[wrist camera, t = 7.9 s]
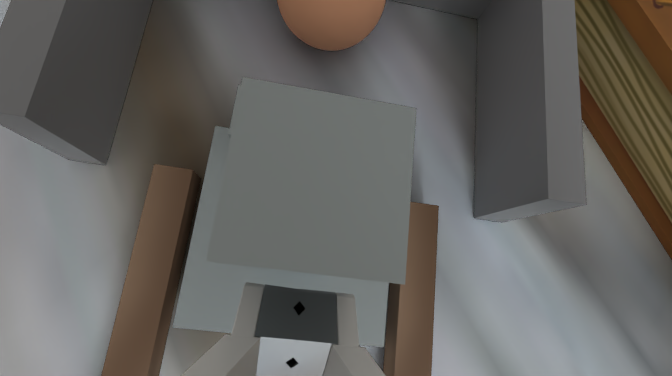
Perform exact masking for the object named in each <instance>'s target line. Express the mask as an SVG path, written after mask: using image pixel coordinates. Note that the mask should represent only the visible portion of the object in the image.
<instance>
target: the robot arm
mask: <svg viewBox="0 0 672 376" xmlns="http://www.w3.org/2000/svg"><path fill="white" fill-rule="evenodd" d="M181 376H386V375H385V374H384V373H383V371H382V370H381V369H380V367H379V366H378V365H377V363H376V362H375V360H374V359H373V358H372V356H371V355H370V354H369V352H368V351H367V350H366V348H364V347H360V346H359V335H358V325H357V314H356V303H355V297H354V295H353V294H346V293H335V292H328V291H318V290H308V289H295V288H288V287H281V286H273V285H266V284H265V285H264V284H257V283H249V282H246V283H245V285H244V288H243V292H242V295H241V299H240V303H239V307H238V310H237V314H236V318H235V322H234V326H233V329H232V333H231V335H226V334H225V335H224V336H223V337H222V338H221V339H220V340H219V341H218V342H217V343H215V344H214V345H213V346H212V347H211V348H210V349H209V350H208V351H207V352H206V353H205V354H204V355H202V356H201V357H200V358H199V359H198V360H197V361H196V362H195V363H194V364H193V365H192V366H191V367H189V368H188V369H187V370H186V371H185V372H184V373H183V374H182V375H181Z"/></svg>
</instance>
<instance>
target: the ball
mask: <svg viewBox="0 0 672 376" xmlns="http://www.w3.org/2000/svg"><path fill="white" fill-rule="evenodd" d="M385 2H386V0H277V3H278V6H279V10H280V13H281V15H282V17H283V19H284V21H285V23H286V24H287V26H288V27H289V29H290V30H291V31H292V32H293V33H294V34H295V35H296V36H297V37H298V38H299V39H300V40H301V41H303V42H304V43H306V44H308V45H310V46H312V47H314V48H317V49H321V50H327V51H337V50H343V49H346V48H349V47H352V46H354V45H356V44H357V43H359V42H360V41H362V40H363V39H364V38H365V37H367V36H368V35H369V33H370V32H371V31H372V30H373V29H374V27H375V26H376V24H377V23H378V21H379V19H380V17H381V15H382V12H383V10H384V6H385Z"/></svg>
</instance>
